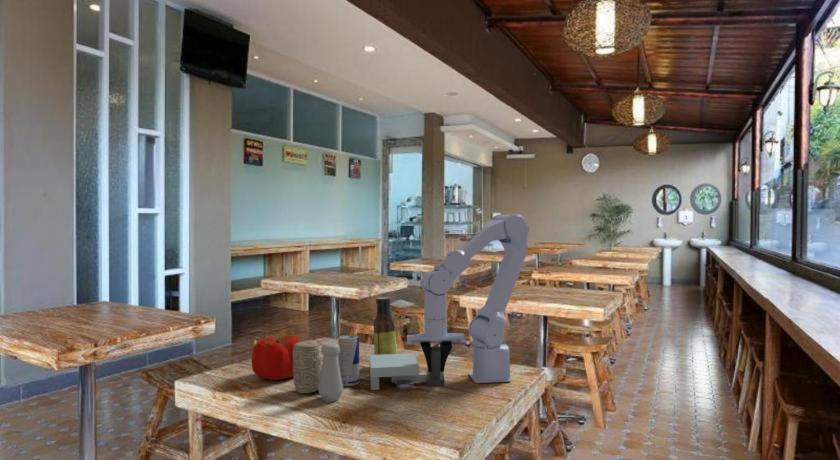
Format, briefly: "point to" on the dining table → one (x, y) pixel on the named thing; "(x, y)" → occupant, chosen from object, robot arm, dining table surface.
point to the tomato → (274, 357)
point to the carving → (306, 366)
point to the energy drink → (349, 359)
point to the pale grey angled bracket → (391, 367)
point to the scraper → (430, 377)
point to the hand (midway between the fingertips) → (435, 371)
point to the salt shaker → (330, 374)
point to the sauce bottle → (384, 328)
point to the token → (404, 384)
